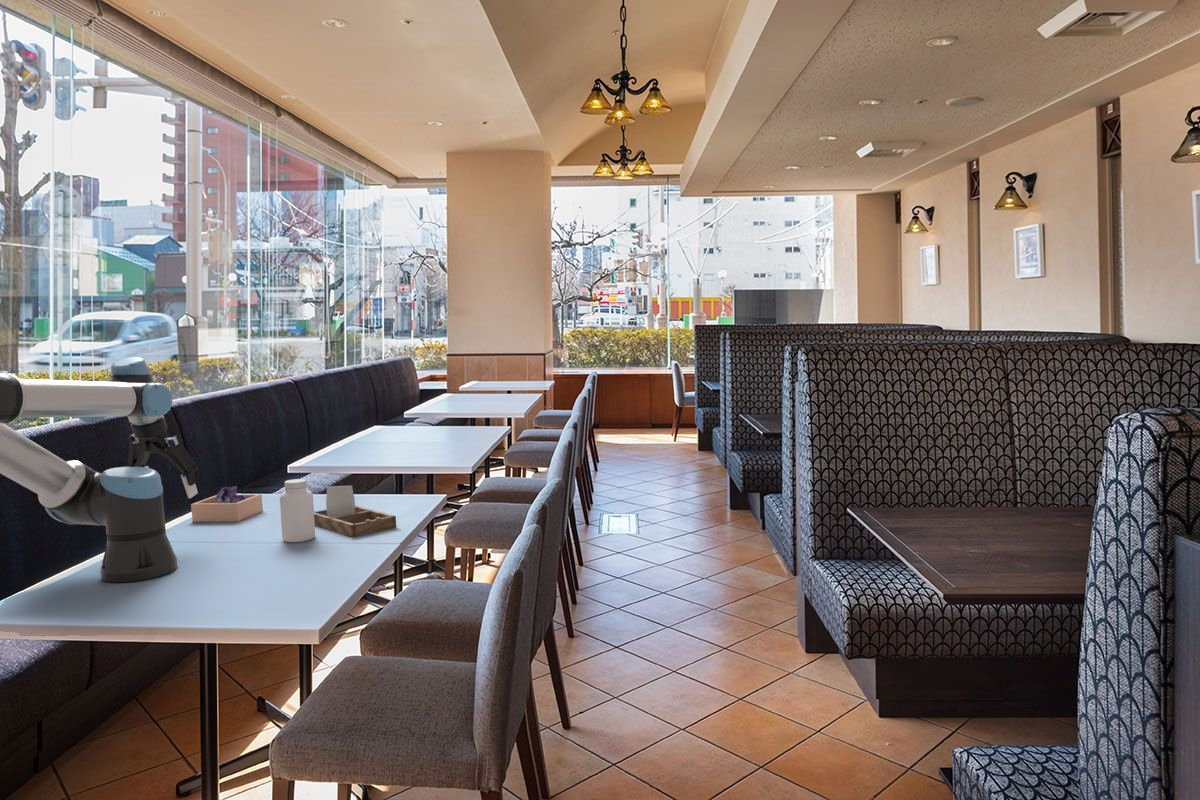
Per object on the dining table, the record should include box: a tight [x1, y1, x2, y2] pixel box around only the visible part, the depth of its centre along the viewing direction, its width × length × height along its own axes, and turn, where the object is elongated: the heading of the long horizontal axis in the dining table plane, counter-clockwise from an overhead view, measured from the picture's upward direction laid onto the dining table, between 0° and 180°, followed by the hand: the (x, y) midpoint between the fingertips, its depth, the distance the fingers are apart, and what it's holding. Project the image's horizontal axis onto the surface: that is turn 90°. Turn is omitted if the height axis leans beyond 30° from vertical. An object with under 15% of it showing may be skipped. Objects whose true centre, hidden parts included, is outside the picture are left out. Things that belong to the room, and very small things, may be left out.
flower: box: [216, 485, 246, 503], centre depth 247 cm, size 9×9×10 cm
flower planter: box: [190, 493, 264, 523], centre depth 247 cm, size 13×14×5 cm
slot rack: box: [314, 505, 397, 538], centre depth 230 cm, size 24×12×3 cm, turn 44°
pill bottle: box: [279, 478, 316, 543], centre depth 216 cm, size 8×8×15 cm
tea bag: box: [325, 485, 356, 518], centre depth 234 cm, size 4×7×10 cm, turn 93°
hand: (171, 493), depth 219 cm, fingers open, 13 cm apart
